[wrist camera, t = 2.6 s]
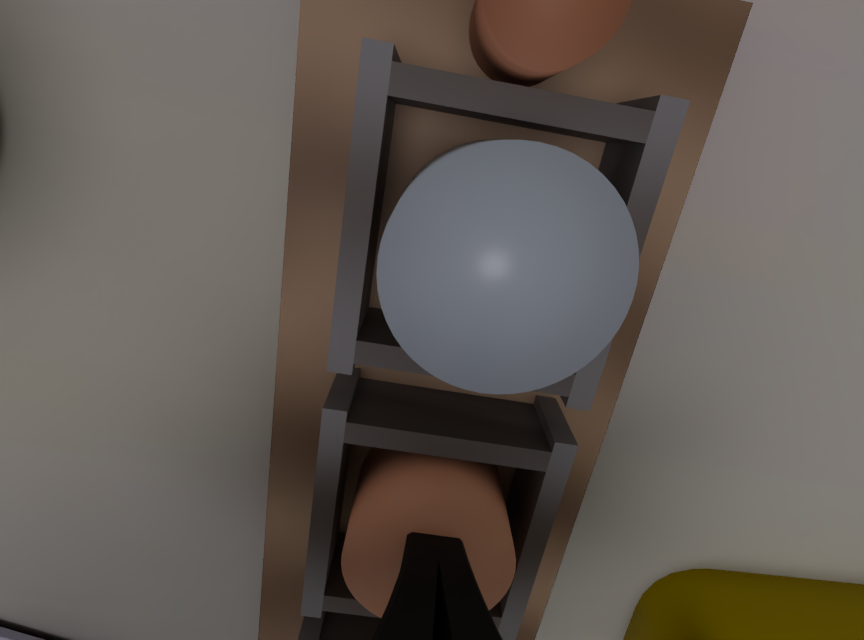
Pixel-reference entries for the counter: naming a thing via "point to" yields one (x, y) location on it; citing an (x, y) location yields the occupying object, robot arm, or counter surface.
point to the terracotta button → (425, 521)
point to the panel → (364, 226)
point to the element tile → (747, 608)
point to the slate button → (507, 265)
